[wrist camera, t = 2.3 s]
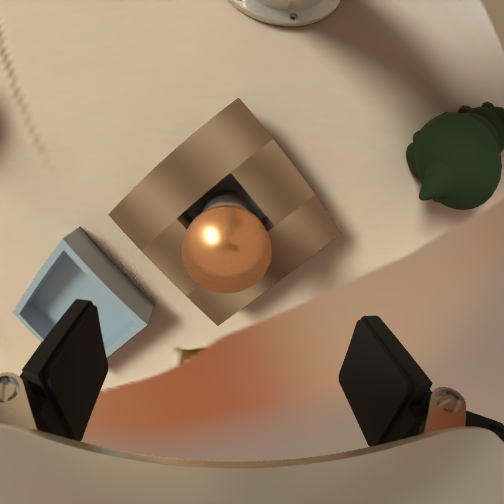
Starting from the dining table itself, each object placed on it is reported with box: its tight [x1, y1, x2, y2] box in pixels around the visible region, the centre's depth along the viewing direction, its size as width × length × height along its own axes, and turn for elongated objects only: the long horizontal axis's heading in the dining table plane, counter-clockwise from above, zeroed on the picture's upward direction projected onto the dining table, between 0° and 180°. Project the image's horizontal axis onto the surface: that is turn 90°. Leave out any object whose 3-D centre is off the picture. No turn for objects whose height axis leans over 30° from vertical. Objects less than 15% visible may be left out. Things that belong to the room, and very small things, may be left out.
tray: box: [13, 227, 155, 357], centre depth 29 cm, size 14×12×4 cm
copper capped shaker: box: [181, 190, 272, 293], centre depth 22 cm, size 5×5×11 cm
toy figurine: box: [406, 102, 504, 210], centre depth 19 cm, size 9×19×25 cm
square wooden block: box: [109, 98, 342, 326], centre depth 26 cm, size 14×14×5 cm
